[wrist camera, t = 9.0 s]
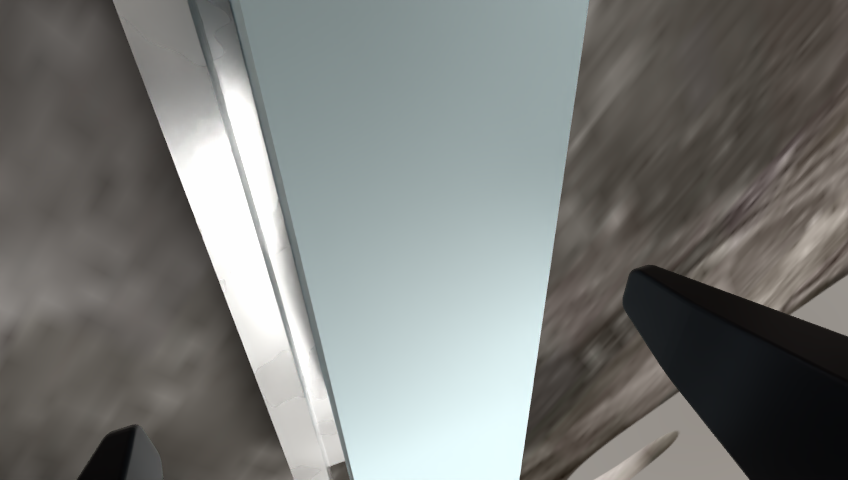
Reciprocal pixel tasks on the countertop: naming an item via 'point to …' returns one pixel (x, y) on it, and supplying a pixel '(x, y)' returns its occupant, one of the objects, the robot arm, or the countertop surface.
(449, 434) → the door panel
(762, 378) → the robot arm
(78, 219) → the countertop surface
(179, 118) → the floor track
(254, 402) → the countertop surface
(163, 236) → the countertop surface
